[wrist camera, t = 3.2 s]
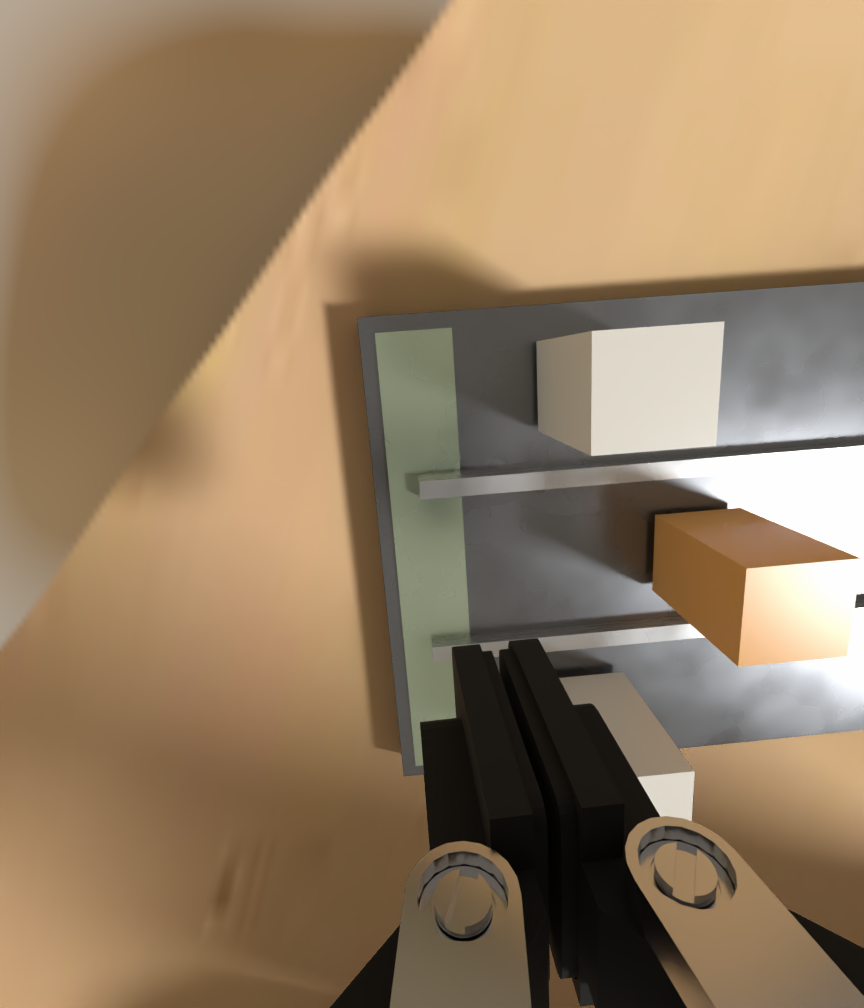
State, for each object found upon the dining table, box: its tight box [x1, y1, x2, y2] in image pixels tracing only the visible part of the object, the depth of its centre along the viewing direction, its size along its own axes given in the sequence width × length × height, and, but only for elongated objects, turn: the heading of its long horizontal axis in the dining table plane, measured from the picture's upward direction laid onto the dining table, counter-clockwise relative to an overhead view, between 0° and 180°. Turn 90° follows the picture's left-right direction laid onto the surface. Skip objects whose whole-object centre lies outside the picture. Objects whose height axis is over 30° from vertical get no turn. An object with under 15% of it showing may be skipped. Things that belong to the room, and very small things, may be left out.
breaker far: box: [559, 672, 695, 821], centre depth 18 cm, size 3×3×5 cm
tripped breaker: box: [652, 508, 862, 667], centre depth 16 cm, size 3×3×5 cm
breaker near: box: [536, 321, 724, 456], centre depth 15 cm, size 3×3×5 cm
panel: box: [357, 282, 864, 776], centre depth 19 cm, size 22×17×2 cm
